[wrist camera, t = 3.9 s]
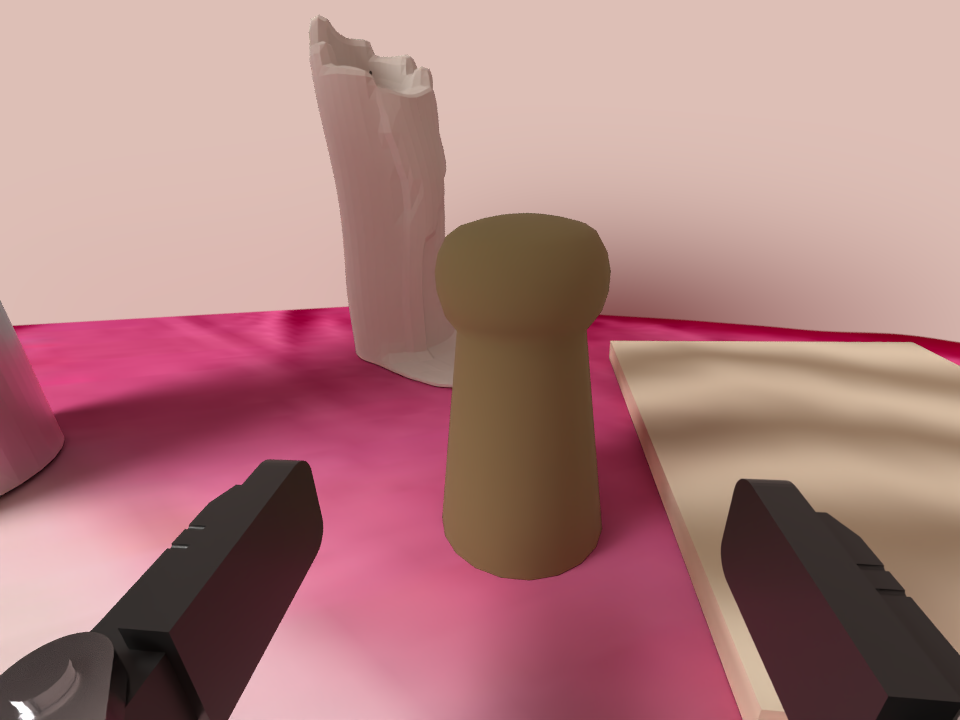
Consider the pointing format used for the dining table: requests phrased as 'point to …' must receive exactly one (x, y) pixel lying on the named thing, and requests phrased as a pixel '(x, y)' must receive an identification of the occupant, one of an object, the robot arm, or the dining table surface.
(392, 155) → the candle
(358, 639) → the dining table surface
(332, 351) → the dining table surface
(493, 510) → the cork
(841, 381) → the birch board
